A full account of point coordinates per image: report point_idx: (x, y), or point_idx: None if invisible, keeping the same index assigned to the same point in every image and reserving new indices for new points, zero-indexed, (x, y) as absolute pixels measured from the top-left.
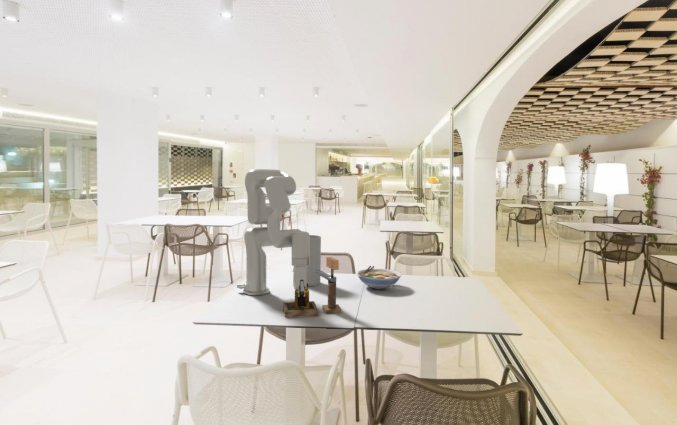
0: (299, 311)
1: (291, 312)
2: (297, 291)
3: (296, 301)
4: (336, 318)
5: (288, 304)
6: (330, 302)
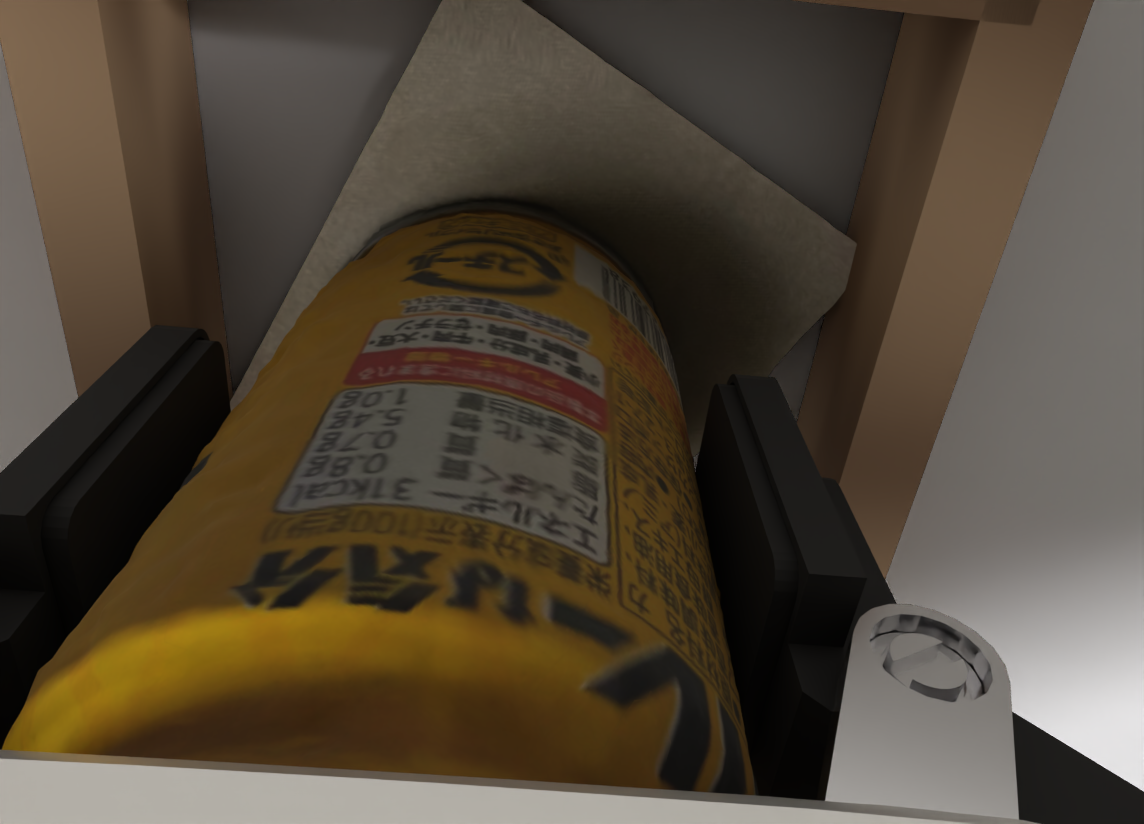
0: (73, 300)
1: (30, 45)
2: (69, 719)
3: (291, 366)
4: None
5: (935, 102)
6: None
